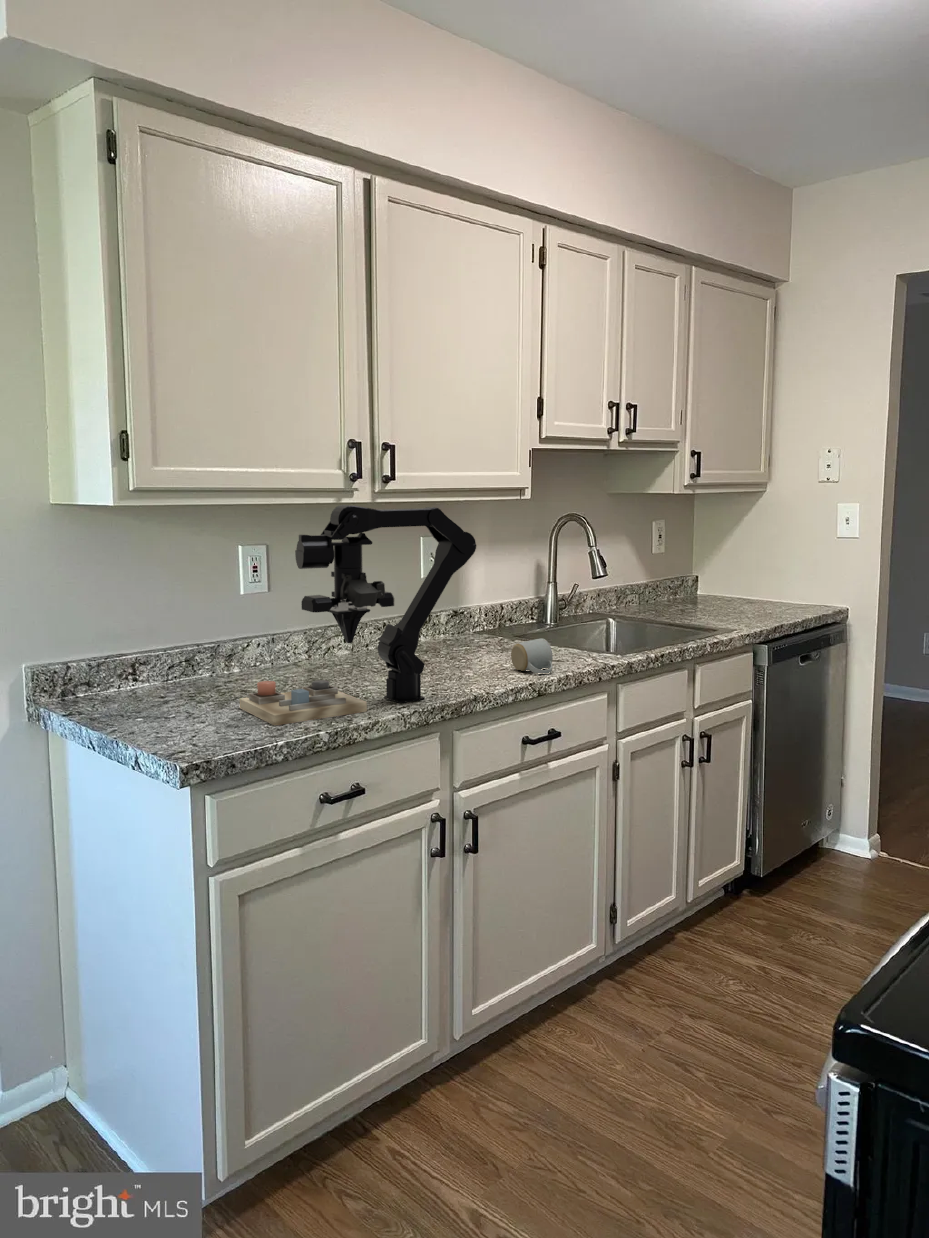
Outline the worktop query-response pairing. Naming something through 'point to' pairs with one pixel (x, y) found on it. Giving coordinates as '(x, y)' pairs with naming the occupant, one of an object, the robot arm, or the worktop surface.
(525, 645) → the ceramic mug
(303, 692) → the slider knob
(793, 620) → the worktop surface
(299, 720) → the control panel
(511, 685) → the worktop surface
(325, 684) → the black button
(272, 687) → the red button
